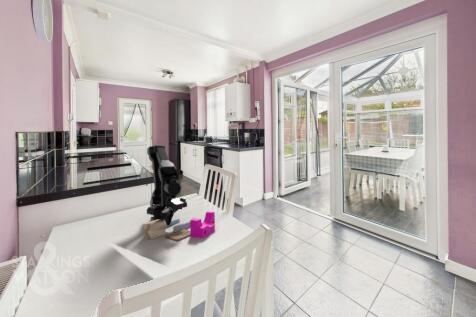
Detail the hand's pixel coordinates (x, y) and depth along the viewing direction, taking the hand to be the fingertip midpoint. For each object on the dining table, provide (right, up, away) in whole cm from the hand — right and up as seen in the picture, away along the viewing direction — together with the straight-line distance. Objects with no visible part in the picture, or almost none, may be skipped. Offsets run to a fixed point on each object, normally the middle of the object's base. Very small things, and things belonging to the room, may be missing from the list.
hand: (168, 225), depth 99 cm
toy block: (+18, -3, -2) cm, 18 cm away
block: (-4, -3, -6) cm, 8 cm away
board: (+7, -2, -6) cm, 10 cm away
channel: (+3, -2, +4) cm, 5 cm away
